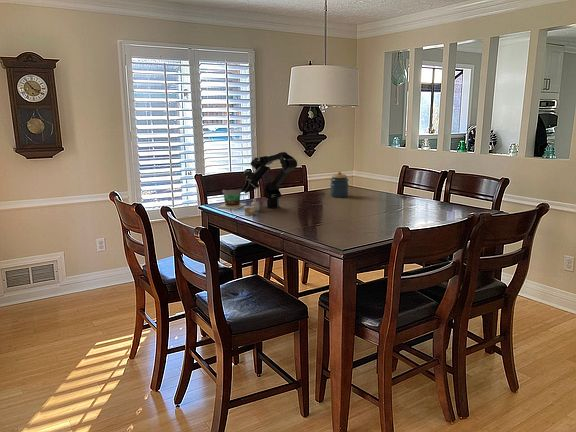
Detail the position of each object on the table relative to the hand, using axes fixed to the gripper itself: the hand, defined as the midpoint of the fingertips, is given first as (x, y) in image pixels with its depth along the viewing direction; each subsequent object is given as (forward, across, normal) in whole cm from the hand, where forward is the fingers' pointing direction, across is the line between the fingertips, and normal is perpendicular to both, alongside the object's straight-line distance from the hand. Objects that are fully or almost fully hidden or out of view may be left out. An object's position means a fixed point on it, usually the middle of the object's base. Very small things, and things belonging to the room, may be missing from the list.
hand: (243, 191), depth 298 cm
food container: (+11, +1, 0) cm, 11 cm away
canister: (-41, -17, +59) cm, 74 cm away
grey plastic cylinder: (+3, +18, +9) cm, 21 cm away
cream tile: (+12, +1, +1) cm, 12 cm away
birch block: (+6, +28, +5) cm, 29 cm away
